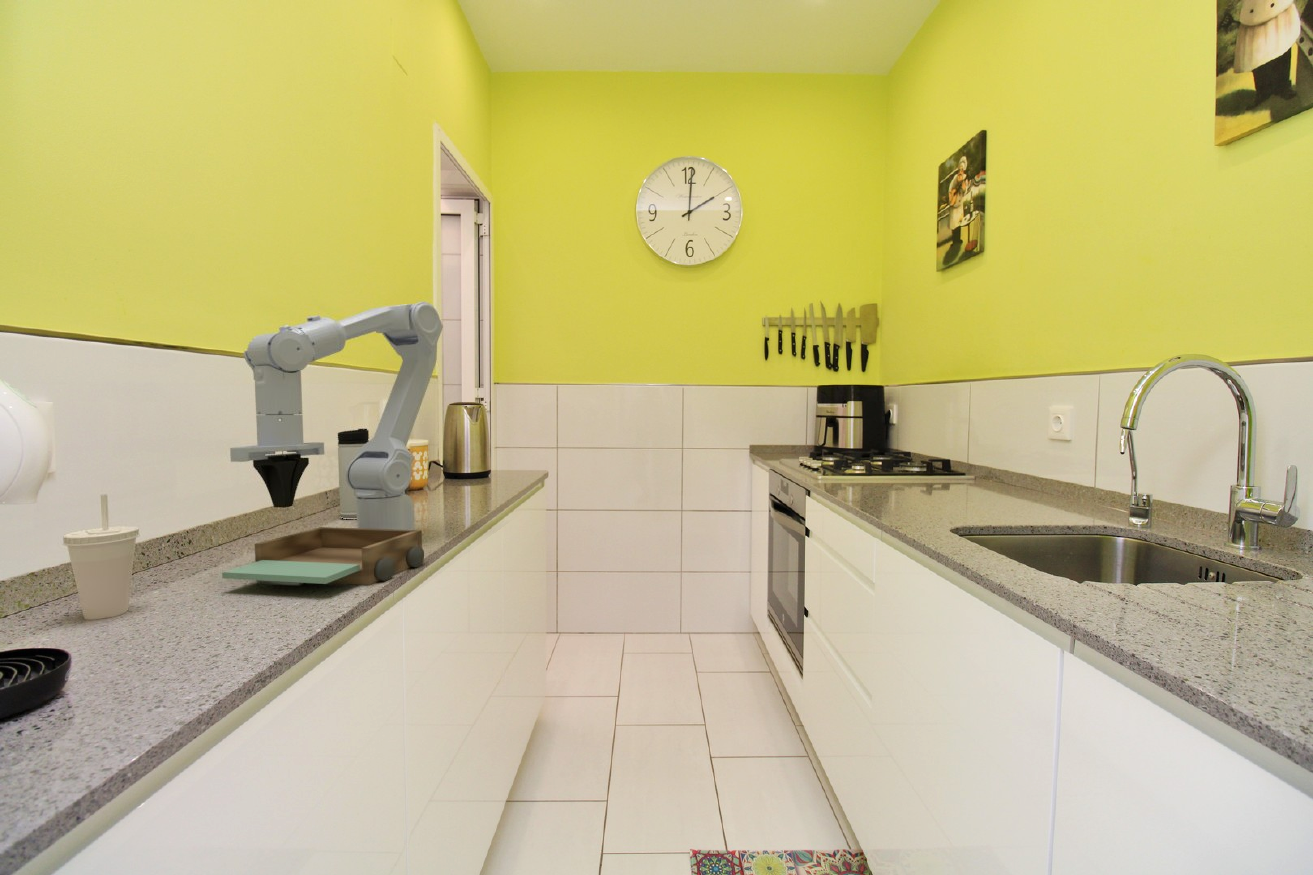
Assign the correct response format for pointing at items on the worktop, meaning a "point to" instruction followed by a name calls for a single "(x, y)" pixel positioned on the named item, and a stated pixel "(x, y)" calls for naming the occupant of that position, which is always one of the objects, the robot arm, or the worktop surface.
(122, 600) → the smoothie
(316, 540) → the cart
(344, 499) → the travel mug
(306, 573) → the tailgate
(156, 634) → the worktop surface
